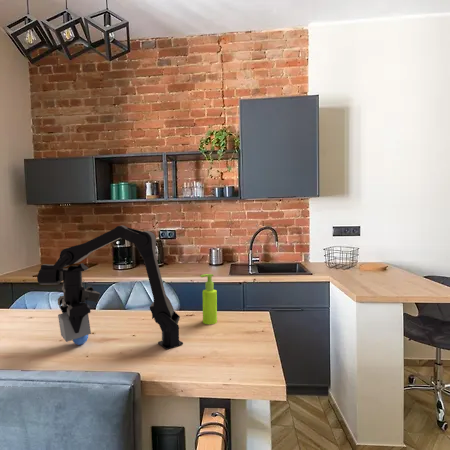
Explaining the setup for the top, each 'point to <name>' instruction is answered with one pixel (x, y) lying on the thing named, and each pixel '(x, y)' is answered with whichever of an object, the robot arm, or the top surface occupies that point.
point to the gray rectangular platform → (68, 330)
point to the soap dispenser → (209, 302)
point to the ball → (81, 340)
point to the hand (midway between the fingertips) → (73, 329)
